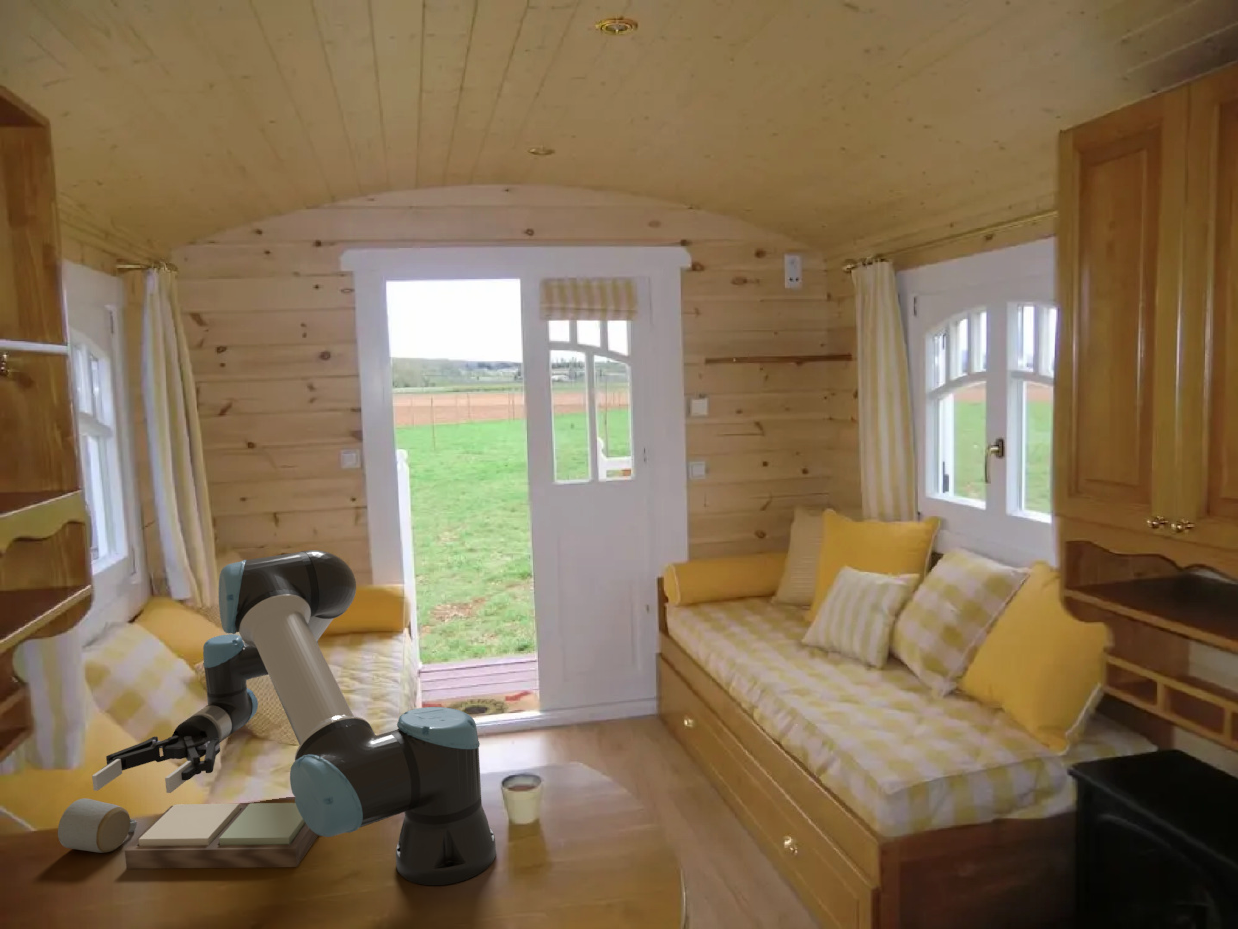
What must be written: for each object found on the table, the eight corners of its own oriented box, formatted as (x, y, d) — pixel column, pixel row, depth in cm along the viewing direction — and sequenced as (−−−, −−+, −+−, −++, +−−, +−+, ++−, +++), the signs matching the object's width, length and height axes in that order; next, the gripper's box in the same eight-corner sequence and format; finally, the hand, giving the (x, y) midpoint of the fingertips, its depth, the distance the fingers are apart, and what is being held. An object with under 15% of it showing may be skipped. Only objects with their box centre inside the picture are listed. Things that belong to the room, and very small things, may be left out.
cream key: (240, 819, 157) (239, 803, 156) (209, 855, 146) (207, 838, 146) (176, 820, 157) (174, 804, 157) (140, 856, 146) (138, 839, 146)
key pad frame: (328, 820, 158) (327, 803, 157) (296, 867, 144) (295, 848, 143) (173, 822, 159) (171, 805, 159) (126, 868, 145) (124, 850, 145)
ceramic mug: (101, 863, 147) (97, 816, 146) (58, 857, 149) (54, 811, 148) (150, 829, 157) (146, 786, 156) (110, 825, 159) (106, 782, 158)
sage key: (316, 818, 156) (314, 802, 156) (290, 854, 145) (288, 837, 145) (251, 819, 157) (249, 803, 156) (220, 855, 146) (219, 838, 145)
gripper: (263, 752, 180) (200, 807, 159) (144, 749, 184) (67, 802, 163) (260, 715, 179) (196, 765, 158) (140, 713, 183) (62, 761, 162)
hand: (130, 784), depth 161 cm, fingers open, 13 cm apart
